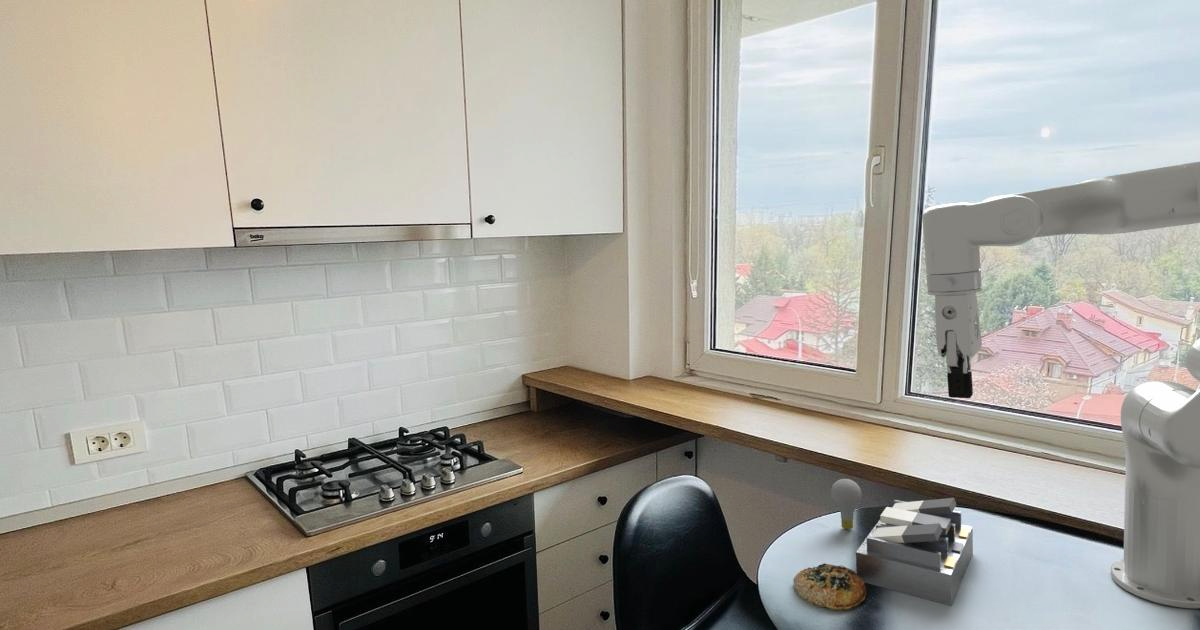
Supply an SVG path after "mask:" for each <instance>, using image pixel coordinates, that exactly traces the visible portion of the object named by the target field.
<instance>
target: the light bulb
mask: <svg viewBox="0 0 1200 630" xmlns="http://www.w3.org/2000/svg"><path fill="white" fill-rule="evenodd" d="M830 492H831V493H830V496H831V498H832V500H833V503H834V504H835V505H836V507H837V508H838V510H839V512H840V518H841V520H840V521H841V527H842V529H845V530H847V531H849V530H852V529H853V528H854V512H855V511H856V509H857V508H858V507H859V505H860V503H861V501H862V497H863V496H862V490H861V487H860V486H859V484H858V483H857V482H855V480H852V479H850V478H840V479H838V480H837V481H835V482H834V483H833V484H832V486H831V489H830Z"/></svg>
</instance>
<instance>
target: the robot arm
mask: <svg viewBox="0 0 1200 630" xmlns="http://www.w3.org/2000/svg"><path fill="white" fill-rule="evenodd" d="M1194 224H1200V161H1196V162H1195V161H1194V162H1189V163H1182V164H1176V165H1170V166H1169V165H1168V166H1164V167H1158V168H1152V169H1151V168H1150V169H1145V170H1137V171H1131V172H1124V173H1118V174H1111V175H1107V176H1101V177H1097V178H1093V179H1089V180H1085V181H1082V182H1077V183H1073V184H1068V185H1061V186H1056V187H1051V188H1050V187H1049V188H1046V189H1038V190H1032V191H1031V190H1030V191H1026V192H1020V193H1012V194H1006V195H999V196H998V195H997V196H993V197H989V198H987V199H985V200H983V201H981V202H974V203H969V202H958V203H948V204H940V205H936V206H935V205H934V206H930V207H927V209H925V210H924V212H923V215H922V230H923V244H924V245H923V248H924V260H925V273H926V274H925V277H926V288H927V294H928V295H929V296H934V316H935V317H934V319H935V320H934V321H935V336H936V337H935V338H936V339H935V340H936V347H937V349H936V350H937V354H938V355H939V357H941V358H945V359H946V361H945V362H946V369H947V371H946V372H947V374H946V375H947V378H946V379H947V389H948V391H947V392H948V397H949V398H952V399H971V398H972V396H973V395H974V391H973V390H974V388H973V375H972V374H973V373H972V371H971V364H972V363H971V359H972V358H973V357H974V356H976V354H977V353H978V352H979V351H980V349H981V348H982V346H983V345H982V334H981V333H982V332H981V323H980V322H981V321H980V313H979V304H978V297H977V293H980V292H982V291H983V288H982V287H983V285H982V270H981V269H982V267H981V255H980V254H981V253H980V247H1017V246H1020V245H1023V244H1026V243H1028V242H1030V241H1031V240H1032V239H1035V238H1044V237H1051V236H1052V237H1053V236H1064V235H1096V236H1097V235H1099V236H1102V235H1116V234H1128V233H1134V232H1141V231H1149V230H1155V229H1156V230H1157V229H1164V228H1171V227H1178V226H1179V227H1180V226H1187V225H1194ZM1185 368H1186V369H1187V371H1188V372H1189V374H1190V375H1191V376H1192V377H1193V378H1194V379H1196V380H1197V381H1198V382H1199V383H1200V337H1199V338H1198V339H1196V341H1195V342H1194V343H1193V344H1192V345H1191V346H1190V347H1189V349H1188V350H1187V352H1186V355H1185ZM1120 408H1121V409H1120V424H1121V431H1122V438H1123V439H1122V440H1123V444H1124V455H1125V456H1124V457H1125V458H1124V459H1125V480H1124V481H1125V482H1124V516H1123V517H1124V518H1123V520H1124V521H1123V524H1124V525H1123V526H1124V528H1123V559H1119V560H1117V561H1115V562H1114V563H1112V565H1111V566H1110V576H1111V578H1112V580H1113V581H1114V582H1115V583H1116V584H1117V585H1118V586H1119V587H1121V588H1122V589H1123V590H1125V591H1126V592H1128V593H1129V594H1133V595H1134V596H1137V597H1139V598H1140V599H1144V600H1147V601H1149V602H1153V603H1157V604H1161V605H1165V606H1168V607H1169V606H1170V607H1174V608H1183V609H1200V387H1199V388H1198V389H1197V390H1195V389H1192V387H1189V386H1186V385H1184V384H1181V383H1178V382H1174V381H1169V380H1151V381H1146V382H1144V383H1140V384H1139V385H1137V386H1135V387H1134V388H1132V389H1131V390H1130V391H1129V392H1128V393H1127V394H1126V396H1125V397H1124V399H1123V402H1122V404H1121V407H1120Z"/></svg>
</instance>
